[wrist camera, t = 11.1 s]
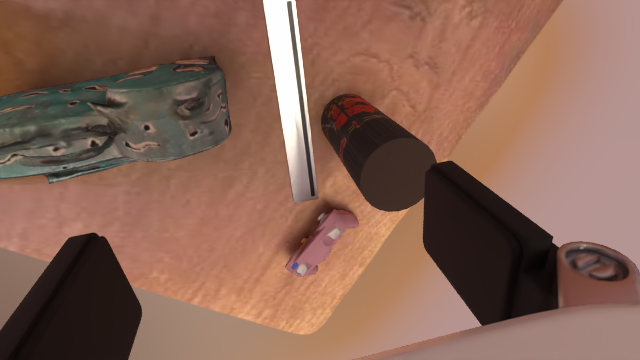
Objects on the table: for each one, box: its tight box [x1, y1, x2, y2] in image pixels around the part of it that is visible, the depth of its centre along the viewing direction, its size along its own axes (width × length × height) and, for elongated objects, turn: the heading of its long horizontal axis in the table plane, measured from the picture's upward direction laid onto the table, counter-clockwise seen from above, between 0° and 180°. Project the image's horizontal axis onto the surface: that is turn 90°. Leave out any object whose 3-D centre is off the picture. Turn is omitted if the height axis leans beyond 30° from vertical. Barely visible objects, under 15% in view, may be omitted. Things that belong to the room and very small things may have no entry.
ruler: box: [263, 0, 318, 203], centre depth 37 cm, size 22×3×1 cm, turn 6°
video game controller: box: [285, 209, 359, 277], centre depth 42 cm, size 10×5×7 cm, turn 141°
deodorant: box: [321, 94, 437, 212], centre depth 32 cm, size 6×6×15 cm
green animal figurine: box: [0, 56, 232, 184], centre depth 25 cm, size 20×6×20 cm, turn 98°
